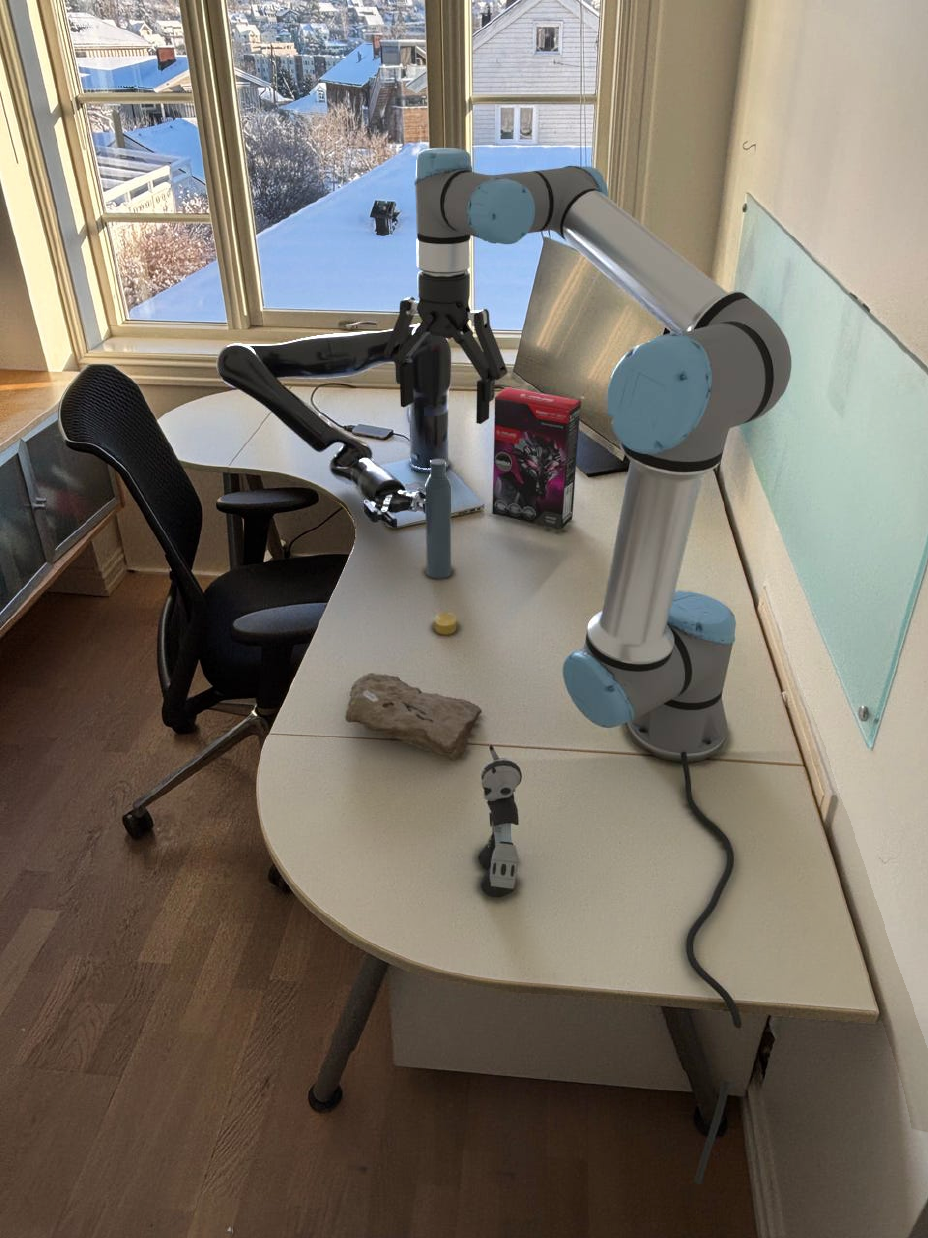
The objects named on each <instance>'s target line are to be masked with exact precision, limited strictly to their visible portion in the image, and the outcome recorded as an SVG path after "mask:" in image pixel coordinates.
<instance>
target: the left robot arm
mask: <svg viewBox="0 0 928 1238" xmlns="http://www.w3.org/2000/svg"><path fill="white" fill-rule="evenodd" d="M419 325H420V323H417V324H410V326H409V329H408V331H407V333H406V336H405V338H404V340H403V343H402V345H401V347H400V350H401V349H402V347H403V346H404V345H405V344H406V342H407V341H408V340H409V339H410V337H411V336H412V335H413V334H414V332H415V330H416V328H417V327H418V326H419ZM393 329H394V328H392V329H387V330H381V331H380V330H379V331H361V332H360V331H359V332H348V333H333V334H323V335H322V334H321V335H316V336H310V337H305V338H300V339H296V340H292V341H287V342H283V343H276V344H243V343H230V344H228V345H226V346H224V347H223V348H222V349H221V350H220V351H219V353H218V354H217V356H216V362H215V368H216V372H217V374H218V376H219V377H220V379H221V380H222V382H224V383H225V384H226V385H228V386H229V387H231V388H235V389H237V390H239V391H241V392H243V393H244V394H246V395H248V396H249V397H251V398H252V399H254V400H255V401H256V402H258V403H260V404H261V405H262V406H263V407H265V408H266V409H267V410H268V411H270V413H272V414H273V415H274V416H275V417H276V418H277V419H278V420H280V421H281V423H282V424H283V425H285V427H286V428H288V429H289V430H290V431H291V433H293V434H294V435H295V436H297V437H298V438H299V439H300V440H301V441H303V442H304V443H305V444H306V445H307V446H309V447H310V448H311V449H312V450H313V451H315V452H316V453H323V452H325V451H326V450H327V449H329V448H330V447H331V446H333V445H334V444H342V445H341V447H340V448H339V449H338V450H337V452H335V454H334V455H333V456H332V457H331V459H330V460H329V463H328V471H329V473H330V474H331V476H332V477H333V478H335V479H336V480H337V481H339V482H341V483H344V484H346V485H350V486H354V487H355V488H356V489H357V490H359V491H360V493H361V494H362V496H363V497H364V498H365V500H363V513H364V514H365V515H366V517H367V518H368V519H369V520H370V521H371V522H372V523H373V524H376V523H377V524H378V522H380V521H381V522H382V523H385V524H386V525H387V526H388V527H390V528H392V529H397V528H398V519H397V517H396V516H395V515H394V514H397V513H400V512H405V511H406V512H407V511H408V512H413V513H417V512H421V513H423V514H425V515H426V509H425V488H423V487H417V488H416V489H417V490H416V491H415V492H411V491H409V490H407V489H406V488H405V486H404V484H403V483H402V482H401V481H400V480H399V479H398V478H396V477H395V476H394V475H393V474H392V473H391V472H389V471H388V470H387V469H385V468H383V467H382V466H381V465H380V464H379V463H378V462H377V461H375V460H374V459H373V457H374V453H373V450H372V447H371V446H370V445H369V444H368V443H367V442H365V441H364V440H362V439H360V438H358V437H355V436H353V435H352V434H349V433H348V432H347V433H346V432H345V431H343V430H342V429H339V428H338V427H337V426H335V425H334V424H332V423H331V422H330V421H329V420H328V419H327V418H326V417H324V416H323V415H322V414H321V413H320V412H318V411H317V410H316V409H315V408H313V407H312V406H311V405H309V403H307V402H305V401H304V400H303V399H302V398H300V397H299V396H298V395H296V394H295V393H294V392H292V391H291V390H290V389H289V388H288V387H287V386H286V385H284V384H283V383H282V382H281V381H280V379H302V380H303V379H304V380H319V379H320V380H323V379H335V378H345V377H351V376H355V375H358V374H361V373H364V372H367V371H369V370H371V369H373V368H376V367H378V366H381V365H383V364H384V365H385V364H391V363H394V361H393V360H391V359H390V358H385V357H384V351H385V348H386V346H387V343H388V341H389V338H390V336H391V334H392V331H393ZM400 350H399V351H400ZM409 358H410V359H408V360H407V362H408V361H411V362H413V389H414V402H413V403H411V404H410V405H408V406H406V415H407V420H408V422H409V456H410V460H409V466H410V468H411V469H412V470H413V471H416V472H420V473H424V474H425V473H426V474H431V470H423V469H418V468H415V467H413V466H412V465H411V464H410V462H411V463H412V464H413V465H414V466H417V467H420V468H427V469H428V468H431V466H430V462H431V460H433V459H443V460H445V463H446V465H445V470H446V469H448V468H449V466H450V460H449V391H450V387H451V383H452V348H451V343H450V341H449V339H448V338H444V337H442V336H432V334H431V333H429V334H428V335H427V336H426V338H425V339H424V340H423V341H422V342H421V344H420V345H419V346H418V347H417V349H416V350H415V351H414V352H413V353H412V355H411V356H410V357H409ZM420 504H422V506H421V505H420Z"/></svg>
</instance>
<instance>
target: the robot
mask: <svg viewBox="0 0 928 1238" xmlns="http://www.w3.org/2000/svg"><path fill="white" fill-rule="evenodd" d="M489 751H490V754H491V756H492V757H491V758H492V761H491V762H489V763H488V764H487V765H486V766H485V767H484V768H483V769H482V771H481V773H480V779H481V782H480V784H481V788H482V789H483V798H484V799H485V800H486V805H487V806H488V809H489V811H490V812H489V814H488V815H489V816H488V817H489V827H491V829H492V831H491V833H492V834H490V837H489V838H488V842H487V843H486V844H485V846H484V847H483V848H482V850H481V851H480V853H479V855H477V858H478V861H479V862H480V864H481V866H482V867H484V868H485V869H487V870H486V871H485V873H484V875H483V877H482V880H481V884H480V889H482V891H484V893H485V894H486V895H487V896H491V897H495V898H498V897H503V896H505V895H507V894H509V893H511V892H513V891H514V888H515V884H516V881H517V872H518V867H519V855H518V851H517V846H516V845H515V844H514V843H513V840H512V825H515V826H519V825H520V823H519V822H520V820H519V809H518V805H517V803H516V801H515V793H514V792H516V789H517V787H518V786H519V785H520V784H521V783H522V779H523V774H522V770H521V768H520V766H519V765H518V764H517V763H516V762H514V761H512V760H511V759H507V758H506V757H501V758H500V756H499V755H498V753H497V751H496V750H495V748H494V745H493V744H490V745H489Z"/></svg>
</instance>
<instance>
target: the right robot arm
mask: <svg viewBox="0 0 928 1238" xmlns="http://www.w3.org/2000/svg"><path fill="white" fill-rule="evenodd" d="M472 165H473V164H472V156H471V154H470V153H469V151H467V150H466V149H463V148H455V147H436V148H434V147H433V148H426V149H423V150H421V151H419V152H418V154H417V155H416V160H415V180H414V188H415V217H416V219H415V221H416V267H417V268H418V269H419V271H418V273H417V296H418V299H419V300H418V301H417V300H416V299H415V297H414V296H409V297H407V298H404V299H402V300H401V301H400V302H399V311H398V313H399V314H398V317H397V319H396V321H395V324H394V327H393V328H392V329H393V331H392V334H391V336H390V338H389V341H388V343H387V346H386V348H385V351H384V357H385V358H390V359H391V360H393V361H394V362H393V363H394V368H395V369H394V370H395V381H396V384H397V385H399V397H400V398H399V399H400V407H402V408H407V407H408V405H410V404H411V403H413V402H414V389H413V362H411V361H408V362H407V360H408V359H410V358H409V357H410V356H411V355H412V353H413V352H414V351H415V350H416V349H417V347H418V346H419V345H420V344H421V342H422V341H423V340H424V339H425V338H426V336H427V335H428V334H429V333H431V334H432V336H442V337H444V338H447V339H448V340H450V339H453V340H454V342H455V344H458V345H459V346H460V348H461V349H462V351H463V352H464V354H465V355H466V357H467V359H468V360H469V362H470V364H471V365H472V366H473V368H474V370H475V371H476V372H477V374H478V375H479V377H480V379H478V380H477V381H476V415H475V416H476V417H475V418H476V419H475V420H476V422H475V423H476V424H478V425H482V424H483V423H485V422H486V421H488V420H489V419H490V403H491V402H492V401H493V400H495V397H496V396H495V394H496V393H495V392H496V381H498V380H501V379H502V378H504V377H505V376H506V375H508V369H507V365H506V363H505V360H504V357H503V355H502V352H501V350H500V347H499V345H498V343H497V340H496V336H495V334H494V332H493V328H492V327H491V322H490V312H489V310H488V309H487V308H483V309H481V310H471V308H470V306H469V301H470V295H471V274H470V273H469V271H468V269H469V268H470V267H471V237H474V238H478V239H480V240H483V242H488V243H489V244H495V245H496V244H501V245H513V244H516V243H518V242H520V240H522V239H523V238H524V237H525V236H526V235H528V234H533V233H534V234H535V233H542V232H549V231H552V232H554V233H556V234H557V235H558V236H559V237H560V238H561V239H563V240H564V241H566V242H567V243H568V244H569V245H570V246H571V247H572V248H573V249H575V250H576V251H577V252H578V253H579V254H580V255H582V256H583V257H584V258H585V259H586V260H588V261H589V262H590V263H591V264H592V265H593V266H594V267H595V268H597V269H598V271H600V272H601V273H603V275H605V276H606V277H607V279H609V280H610V281H611V282H613V284H615V285H616V286H617V287H619V289H621V290H622V291H623V292H624V293H625V294H626V295H627V296H629V297H630V298H631V299H632V300H633V301H635V303H637V304H638V305H639V306H640V307H642V308H643V309H644V310H645V311H646V312H647V313H648V314H649V315H651V316H652V317H653V318H654V319H655V320H656V321H658V323H660V324H661V325H662V326H664V327H665V328H666V329H667V331H669V332H670V333H665V334H661V335H658V336H656V337H654V338H652V339H650V340H649V341H645V342H643V343H640V344H638V345H636V346H634V347H633V348H631V349H630V350H629V351H627V352H626V353H625V354H624V355H623V356H622V358H621V359H620V360H619V362H618V363H617V364H616V366H615V368H614V369H613V371H612V374H611V377H610V378H609V383H608V387H607V391H606V392H607V393H606V395H607V396H606V409H607V414H608V416H609V417H610V416H611V417H612V421H611V422H610V426H611V428H612V431H613V433H614V435H615V436H616V438H617V439H618V440H619V441H620V443H619V446H620V450H621V451H622V453H623V454H624V456H626V458H627V459H628V460H629V466H628V472H627V477H626V482H625V488H624V492H623V496H622V503H621V509H620V514H619V519H618V525H617V530H616V536H615V540H614V546H613V551H612V556H611V563H610V567H609V571H608V572H609V573H608V579H607V583H606V589H605V592H604V593H605V594H604V599H603V605H602V610H601V611H599V612H598V613H596V614H595V615H594V616H593V617H592V618H590V620H589V622H588V625H587V629H586V634H585V639H584V645H583V646H582V647H581V649H575V650H574V651H572V652H571V653H570V654H569V655H567V656H566V657H565V659H564V661H563V663H562V678H563V681H564V686H565V689H566V691H567V693H568V695H569V696H570V699H571V701H572V702H573V704H574V706H575V707H576V708H577V709H578V710H579V712H580V713H581V714H582V715H583V716H584V717H585V718H586V719H587V720H588V721H590V722H591V723H593V724H595V725H596V726H598V727H600V728H604V729H614V728H617V727H620V726H621V725H624V724H625V728H626V732H627V734H628V736H629V738H630V739H631V741H632V742H634V744H636V745H637V746H638V747H639V748H640V749H641V750H643V751H645V752H646V753H648V754H650V755H651V756H654V757H656V758H659V759H662V760H666V761H670V762H675V763H681V764H682V769H683V777H684V791H685V792H684V793H685V797H686V801H687V803H688V806H689V807H690V809H691V811H692V812H693V814H694V815H695V816H696V818H698V819H699V820H700V821H701V822H702V823H703V824H704V825H706V826H707V827H708V829H710V830H711V831H712V832H713V833H714V834H715V835H717V837H718V838H719V839H720V840H721V842H722V844H723V845H724V848H725V850H726V865H725V869H724V871H723V873H722V875H721V878H720V880H719V881H718V883H717V885H716V887H715V889H714V891H713V894H712V896H711V898H710V900H709V903H708V904H707V905H706V907H705V909H704V910H703V911H702V912H701V914H700V915H699V916H698V917H697V919H695V921H694V922H693V924H692V925H691V927H690V928H689V930H688V933H687V935H686V939H685V941H686V942H685V951H686V956H687V961H688V962H689V964H690V966H691V969H693V970H694V972H695V973H696V974H697V975H698V976H699V977H700V978H701V979H702V980H703V981H704V982H705V983H706V984H707V985H709V986H710V988H712V989H713V990H714V991H715V992H716V993H717V994H718V995H719V996H720V997H721V998H722V1000H723V1001H724V1002H725V1004H726V1006H727V1008H728V1010H729V1012H730V1015H731V1018H732V1023H733V1025H734V1027H735V1028H736V1029H741V1028H742V1026H743V1025H742V1018H741V1015H740V1012H739V1009H738V1006H737V1004H736V1003H735V1001H734V999H733V998H732V996H731V995H730V994H729V992H728V991H727V990H726V989H725V987H723V986H722V985H721V983H719V982H718V981H717V980H716V979H715V978H714V977H712V976H711V975H710V974H709V973H708V972H707V971H706V970H705V969H704V968H703V967H702V966H701V965H700V963H699V961H698V960H697V958H696V956H695V951H694V942H695V938H696V936H697V934H698V931H699V930H700V928H702V925H704V923H705V922H706V921H707V919H709V917H710V916H711V914H712V913H713V912H714V910H715V908H716V906H717V905H718V902H719V901H720V898H721V895H722V894H723V891H724V890H725V887H726V886H727V883H728V881H729V879H730V877H731V875H732V873H733V869H734V865H735V855H734V850H733V845H732V844H731V841H730V839H729V838H728V836H727V835H726V834H725V833H724V832H723V830H722V829H721V828H720V827H718V825H716V824H715V823H714V822H713V821H711V819H710V818H708V817H707V815H705V814H704V813H703V812H702V810H700V808H699V807H698V806H697V804H696V802H695V800H694V797H693V793H692V778H691V771H690V766H689V763H694V762H700V761H703V760H706V759H709V758H711V757H714V755H716V754H718V752H720V751H721V750H722V748H723V747H724V744H725V743H726V740H727V739H726V738H727V734H728V721H727V716H726V712H725V708H724V707H725V706H724V701H723V692H724V686H725V682H726V678H727V674H728V668H729V664H730V659H731V654H732V651H733V650H732V649H733V645H734V643H735V641H736V627H737V621H736V617H735V615H734V613H733V611H732V610H731V609H730V608H729V607H728V606H727V605H726V604H725V603H723V602H722V601H720V600H719V599H717V598H714V597H712V596H709V595H707V594H703V593H699V592H694V591H689V590H676V589H677V585H678V581H679V577H680V573H681V568H682V565H683V562H684V561H683V560H684V556H685V552H686V548H687V544H688V539H689V536H690V531H691V528H692V523H693V520H694V515H695V512H696V508H697V504H698V499H699V494H700V491H701V487H702V483H703V479H704V475H705V474H707V473H708V472H711V471H712V470H714V469H716V468H717V467H718V466H719V465H720V464H721V461H722V459H723V454H724V450H725V446H726V443H727V438H728V434H729V431H730V430H731V428H735V427H738V426H741V425H743V424H748V423H750V422H752V421H755V420H757V419H759V418H761V417H763V416H764V415H765V414H767V413H768V412H769V411H771V410H772V409H773V408H774V407H775V406H776V405H777V403H778V402H779V401H780V399H781V398H783V395H784V394H785V392H786V390H787V388H788V384H789V382H790V379H791V372H792V354H791V349H790V345H789V342H788V339H787V338H786V336H785V333H784V331H783V330H782V328H781V327H780V325H779V324H778V323H777V321H776V320H775V319H774V318H773V317H772V316H771V315H770V314H769V313H768V312H767V311H766V310H765V309H764V308H763V307H762V306H760V304H758V303H757V302H756V301H754V300H753V299H752V298H751V297H749V296H748V295H747V294H745V293H744V292H743V291H740V290H734V291H733V290H732V291H730V292H728V291H726V289H724V288H723V287H722V286H720V285H719V284H718V283H717V282H715V281H714V280H713V279H711V278H710V277H709V276H707V274H705V273H704V272H703V271H701V270H700V269H699V268H697V266H696V265H694V264H693V263H692V262H690V261H689V260H687V259H686V258H685V257H683V256H682V255H681V254H680V253H679V252H678V251H676V250H675V249H673V248H672V247H671V246H670V245H669V244H667V243H666V242H665V241H664V240H662V239H661V238H660V237H659V236H657V235H656V234H655V233H653V232H652V231H651V230H650V229H648V228H647V227H646V226H645V225H643V224H642V223H641V222H640V221H638V220H637V219H636V218H635V217H633V216H632V215H631V214H629V213H628V212H627V211H626V210H625V209H623V208H622V207H621V206H619V205H618V204H617V203H616V202H615V201H614V200H613V199H611V198H610V197H609V189H608V184H607V183H606V181H605V180H604V175H603V174H602V173H601V172H600V171H599V169H596V168H595V167H593V166H585V165H584V166H580V165H567V166H564V167H558V168H557V167H556V168H548V169H539V170H532V171H531V170H530V171H520V172H510V173H509V172H508V173H501V174H484V173H478V172H474V171H473V166H472ZM416 314H418V316H419V318H420V320H421V322H420V323H419V324H420V325H419V326H418V327H417V328H416V330H415V332H414V334H413V335H412V336H411V337H410V339H409V340H408V341H407V342H406V344H405V345H404V346H403V347H402V349H401V350H400V347H401V345H402V343H403V340H404V338H405V336H406V333H407V331H408V329H409V326H411V325H412V322H413V320H414V317H415V315H416ZM469 321H470V322H471V326H472V327H474V331H475V334H476V337H477V339H476V338H475V336H474V332H473V330H472V329H471V327H470V325H469V323H468V322H469ZM461 332H462V333H461ZM477 340H478V341H477ZM399 350H400V351H399ZM730 1085H731V1081H727V1080H725V1079H723V1080H722V1081H721V1086H720V1089H719V1090H720V1091H719V1094H718V1099H717V1103H716V1107H715V1110H714V1114H713V1118H712V1121H711V1124H710V1127H709V1131H708V1134H707V1137H706V1141H705V1143H704V1147H703V1150H702V1153H701V1156H700V1159H699V1163H698V1166H697V1169H696V1173H695V1177H694V1183H695V1184H697V1185H700V1184H702V1182H703V1181H702V1180H703V1177H704V1174H705V1170H706V1167H707V1163H708V1160H709V1157H710V1154H711V1151H712V1148H713V1145H714V1143H715V1140H716V1136H717V1133H718V1130H719V1127H720V1124H721V1121H722V1117H723V1114H724V1110H725V1106H726V1103H727V1098H728V1094H729V1090H730Z"/></svg>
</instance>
